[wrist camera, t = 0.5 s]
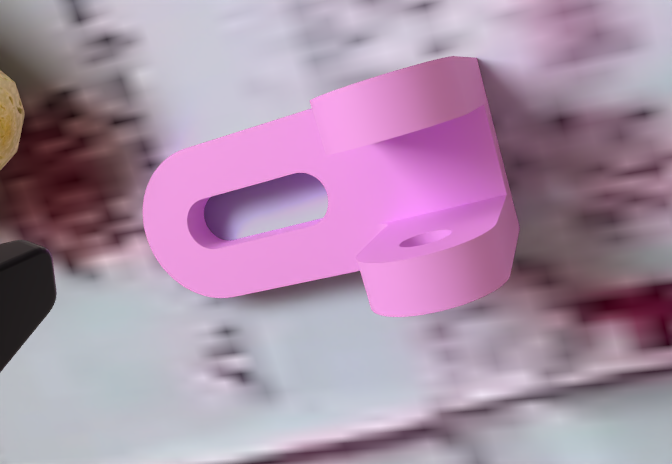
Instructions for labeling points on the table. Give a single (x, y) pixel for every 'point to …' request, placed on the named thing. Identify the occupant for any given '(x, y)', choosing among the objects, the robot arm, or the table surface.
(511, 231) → the bracket
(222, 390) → the table surface
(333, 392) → the table surface
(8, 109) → the lettuce
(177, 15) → the table surface
